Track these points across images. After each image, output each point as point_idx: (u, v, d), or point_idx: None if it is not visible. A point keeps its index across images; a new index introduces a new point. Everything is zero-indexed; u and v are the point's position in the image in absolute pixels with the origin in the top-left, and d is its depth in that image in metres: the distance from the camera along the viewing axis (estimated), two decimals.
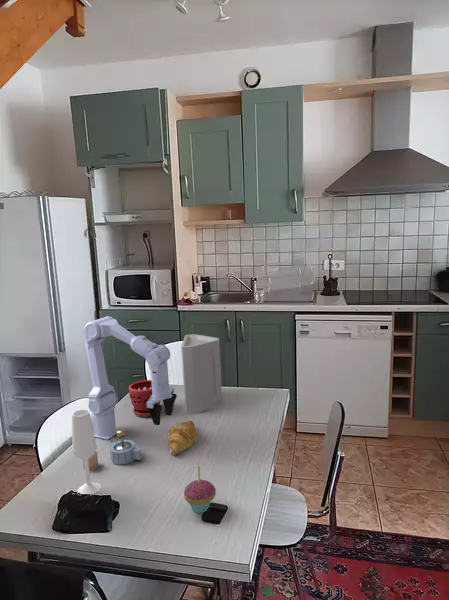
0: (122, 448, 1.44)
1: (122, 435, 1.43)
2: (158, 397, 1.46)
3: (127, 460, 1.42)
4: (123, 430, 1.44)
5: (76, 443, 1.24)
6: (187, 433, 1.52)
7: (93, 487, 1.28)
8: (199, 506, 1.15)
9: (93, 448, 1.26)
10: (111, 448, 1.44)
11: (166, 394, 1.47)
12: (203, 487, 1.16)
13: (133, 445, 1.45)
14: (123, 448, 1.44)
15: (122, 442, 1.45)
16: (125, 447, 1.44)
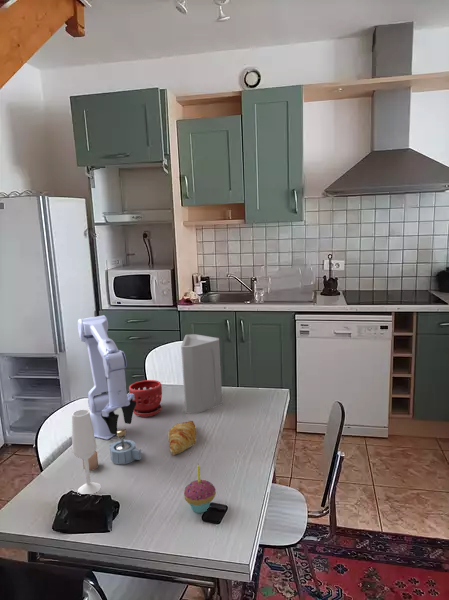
0: (122, 448, 1.44)
1: (122, 435, 1.43)
2: (114, 405, 1.40)
3: (127, 460, 1.42)
4: (123, 430, 1.44)
5: (76, 443, 1.24)
6: (187, 433, 1.52)
7: (93, 487, 1.28)
8: (199, 506, 1.15)
9: (93, 448, 1.26)
10: (111, 448, 1.44)
11: (123, 402, 1.41)
12: (203, 487, 1.16)
13: (133, 445, 1.45)
14: (123, 448, 1.44)
15: (122, 442, 1.45)
16: (125, 447, 1.44)
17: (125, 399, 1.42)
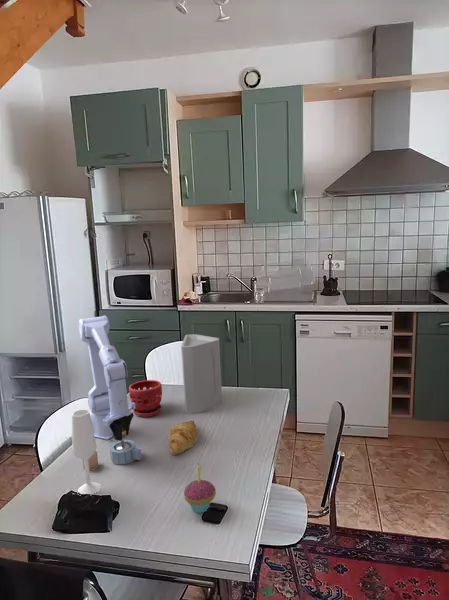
0: (122, 448, 1.44)
1: (122, 435, 1.43)
2: (115, 414, 1.40)
3: (127, 460, 1.42)
4: (123, 430, 1.44)
5: (76, 443, 1.24)
6: (188, 433, 1.52)
7: (93, 487, 1.28)
8: (199, 506, 1.15)
9: (93, 448, 1.26)
10: (111, 448, 1.44)
11: (124, 411, 1.41)
12: (203, 487, 1.16)
13: (133, 445, 1.45)
14: (123, 448, 1.44)
15: (122, 442, 1.45)
16: (125, 447, 1.44)
17: (126, 409, 1.42)
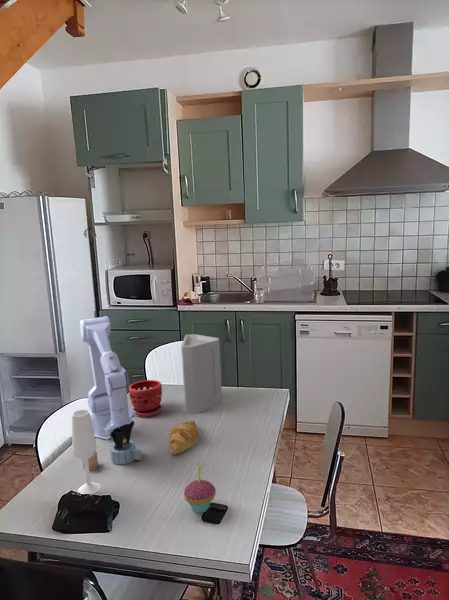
0: None
1: (123, 443, 1.44)
2: (116, 423, 1.41)
3: (127, 460, 1.42)
4: (124, 438, 1.45)
5: (76, 443, 1.24)
6: (188, 433, 1.51)
7: (93, 487, 1.28)
8: (199, 506, 1.15)
9: (93, 448, 1.26)
10: (111, 448, 1.44)
11: (125, 420, 1.42)
12: (203, 487, 1.16)
13: (133, 445, 1.45)
14: None
15: None
16: None
17: (127, 417, 1.42)
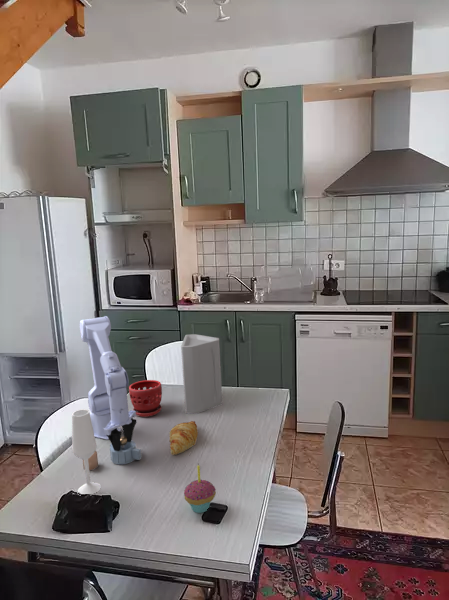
0: None
1: (123, 443, 1.44)
2: (116, 423, 1.41)
3: (127, 460, 1.42)
4: (124, 438, 1.45)
5: (76, 443, 1.24)
6: (188, 433, 1.51)
7: (93, 487, 1.28)
8: (199, 506, 1.15)
9: (93, 448, 1.26)
10: (111, 448, 1.44)
11: (125, 420, 1.42)
12: (203, 487, 1.16)
13: (133, 445, 1.45)
14: None
15: None
16: None
17: (127, 417, 1.42)
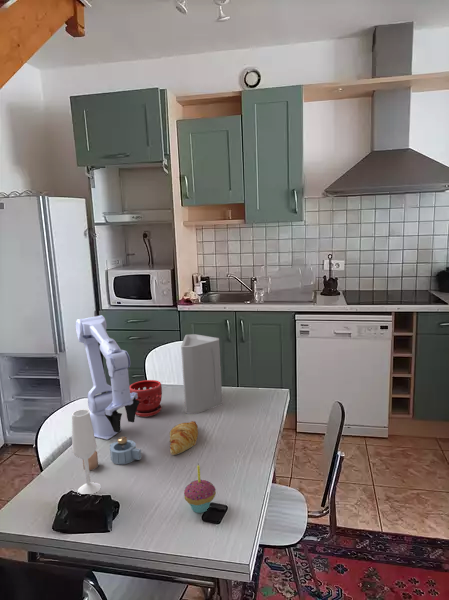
0: None
1: (123, 443, 1.44)
2: (118, 404, 1.42)
3: (127, 460, 1.42)
4: (124, 438, 1.45)
5: (76, 443, 1.24)
6: (188, 434, 1.51)
7: (93, 487, 1.28)
8: (199, 506, 1.15)
9: (93, 448, 1.26)
10: (111, 448, 1.44)
11: (126, 401, 1.43)
12: (203, 487, 1.16)
13: (133, 445, 1.45)
14: None
15: None
16: None
17: (128, 398, 1.44)
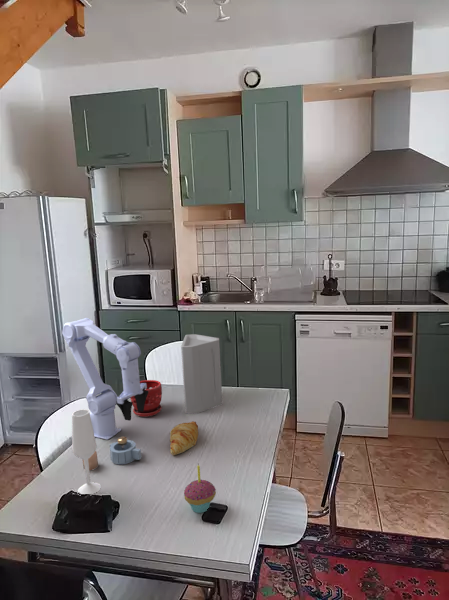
0: None
1: (123, 443, 1.44)
2: (129, 393, 1.49)
3: (127, 460, 1.42)
4: (124, 438, 1.45)
5: (76, 443, 1.24)
6: (188, 434, 1.51)
7: (93, 487, 1.28)
8: (199, 506, 1.15)
9: (93, 448, 1.26)
10: (111, 448, 1.44)
11: (137, 390, 1.50)
12: (203, 487, 1.16)
13: (133, 445, 1.45)
14: None
15: None
16: None
17: (138, 388, 1.51)
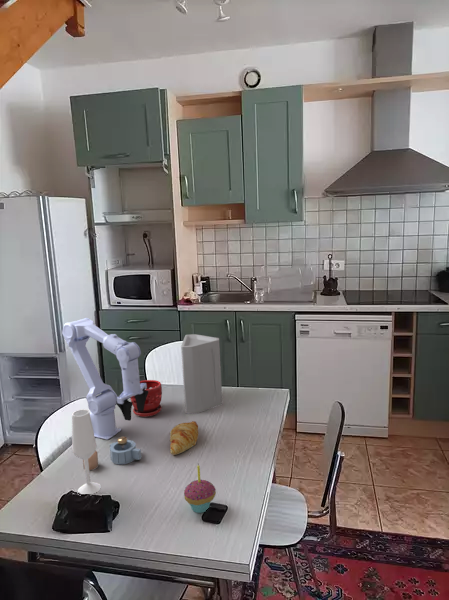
0: None
1: (123, 443, 1.44)
2: (129, 393, 1.49)
3: (127, 460, 1.42)
4: (124, 438, 1.45)
5: (76, 443, 1.24)
6: (188, 434, 1.51)
7: (93, 487, 1.28)
8: (199, 506, 1.15)
9: (93, 448, 1.26)
10: (111, 448, 1.44)
11: (137, 390, 1.50)
12: (203, 487, 1.16)
13: (133, 445, 1.45)
14: None
15: None
16: None
17: (138, 388, 1.51)
